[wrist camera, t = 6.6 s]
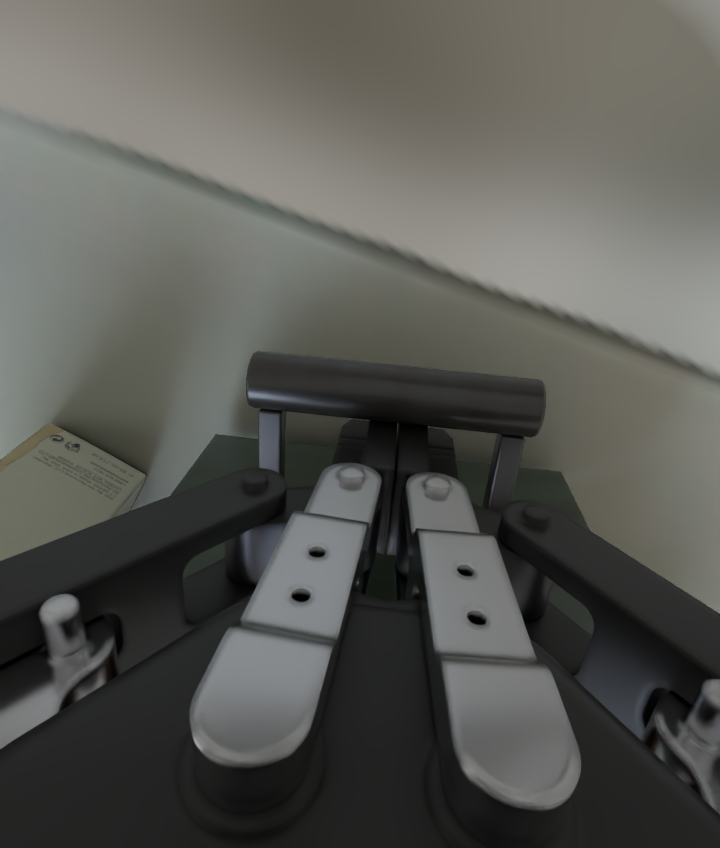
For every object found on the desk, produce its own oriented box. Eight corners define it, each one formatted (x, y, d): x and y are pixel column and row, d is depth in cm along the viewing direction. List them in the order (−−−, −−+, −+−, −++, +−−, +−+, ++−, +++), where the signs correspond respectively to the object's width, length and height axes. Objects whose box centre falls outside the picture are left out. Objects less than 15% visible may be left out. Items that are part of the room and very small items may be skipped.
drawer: (209, 298, 18) (76, 383, 11) (597, 336, 17) (726, 452, 10) (227, 720, 26) (159, 921, 19) (485, 755, 26) (512, 974, 19)
